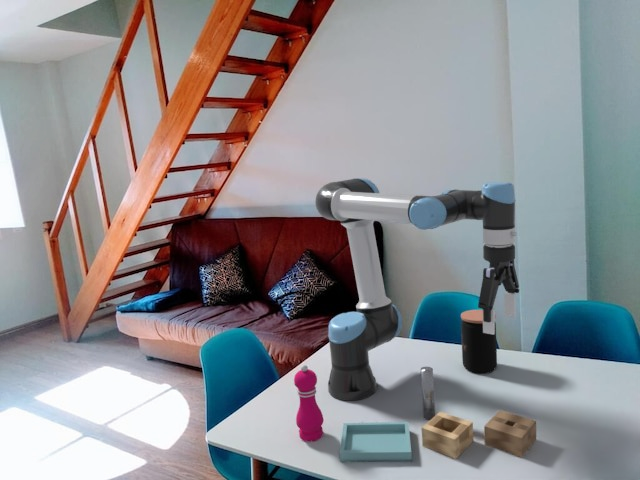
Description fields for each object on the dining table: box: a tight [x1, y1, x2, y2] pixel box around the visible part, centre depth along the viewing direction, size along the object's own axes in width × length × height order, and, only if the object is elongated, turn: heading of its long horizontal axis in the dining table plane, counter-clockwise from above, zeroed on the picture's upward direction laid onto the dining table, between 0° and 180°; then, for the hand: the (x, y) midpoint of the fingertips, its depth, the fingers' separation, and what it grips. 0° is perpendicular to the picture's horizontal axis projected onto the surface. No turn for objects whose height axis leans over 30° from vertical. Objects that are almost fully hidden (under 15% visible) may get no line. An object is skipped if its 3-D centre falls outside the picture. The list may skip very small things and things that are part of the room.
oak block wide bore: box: [421, 411, 474, 460], centre depth 122 cm, size 9×9×5 cm
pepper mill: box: [293, 364, 324, 443], centre depth 130 cm, size 7×7×20 cm
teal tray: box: [339, 421, 413, 463], centre depth 124 cm, size 17×13×2 cm
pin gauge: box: [420, 366, 436, 421], centre depth 134 cm, size 3×3×14 cm
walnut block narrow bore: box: [483, 409, 537, 458], centre depth 120 cm, size 9×9×5 cm
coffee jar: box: [460, 309, 498, 375], centre depth 160 cm, size 11×11×18 cm
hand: (499, 324), depth 128 cm, fingers open, 13 cm apart
